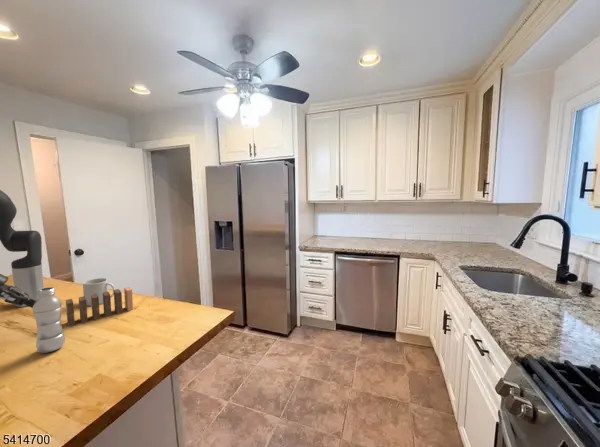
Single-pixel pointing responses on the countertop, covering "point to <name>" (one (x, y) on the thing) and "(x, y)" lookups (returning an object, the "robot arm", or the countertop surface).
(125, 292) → the domino
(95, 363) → the countertop surface
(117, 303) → the domino
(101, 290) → the mug
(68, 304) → the domino
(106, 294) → the domino
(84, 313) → the domino
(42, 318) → the plastic bottle
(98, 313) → the domino
